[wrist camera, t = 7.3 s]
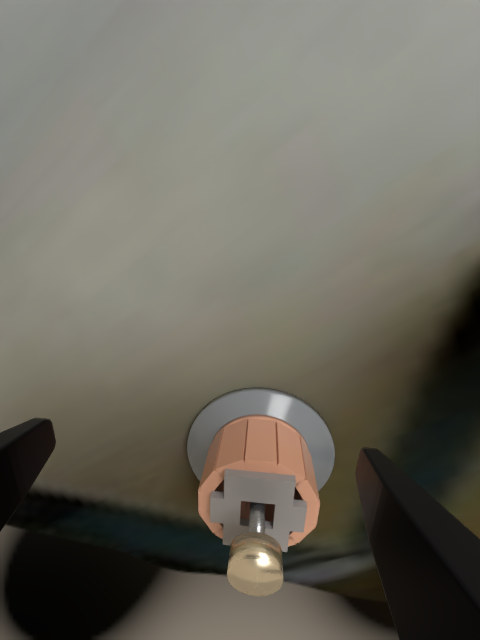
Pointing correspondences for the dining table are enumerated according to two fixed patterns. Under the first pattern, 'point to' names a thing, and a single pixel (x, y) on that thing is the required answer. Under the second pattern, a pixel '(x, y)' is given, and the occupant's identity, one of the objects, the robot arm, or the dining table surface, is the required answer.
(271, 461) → the orange slatted barrel
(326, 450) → the disc
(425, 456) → the dining table surface
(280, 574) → the plunger
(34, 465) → the robot arm
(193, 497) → the dining table surface
